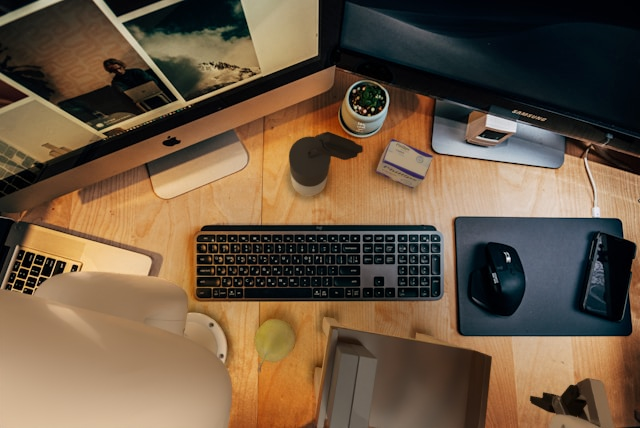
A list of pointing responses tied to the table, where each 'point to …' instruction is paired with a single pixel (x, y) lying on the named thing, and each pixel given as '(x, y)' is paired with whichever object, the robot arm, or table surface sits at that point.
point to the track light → (317, 160)
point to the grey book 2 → (363, 388)
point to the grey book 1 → (342, 386)
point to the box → (404, 163)
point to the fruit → (274, 341)
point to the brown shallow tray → (416, 382)
